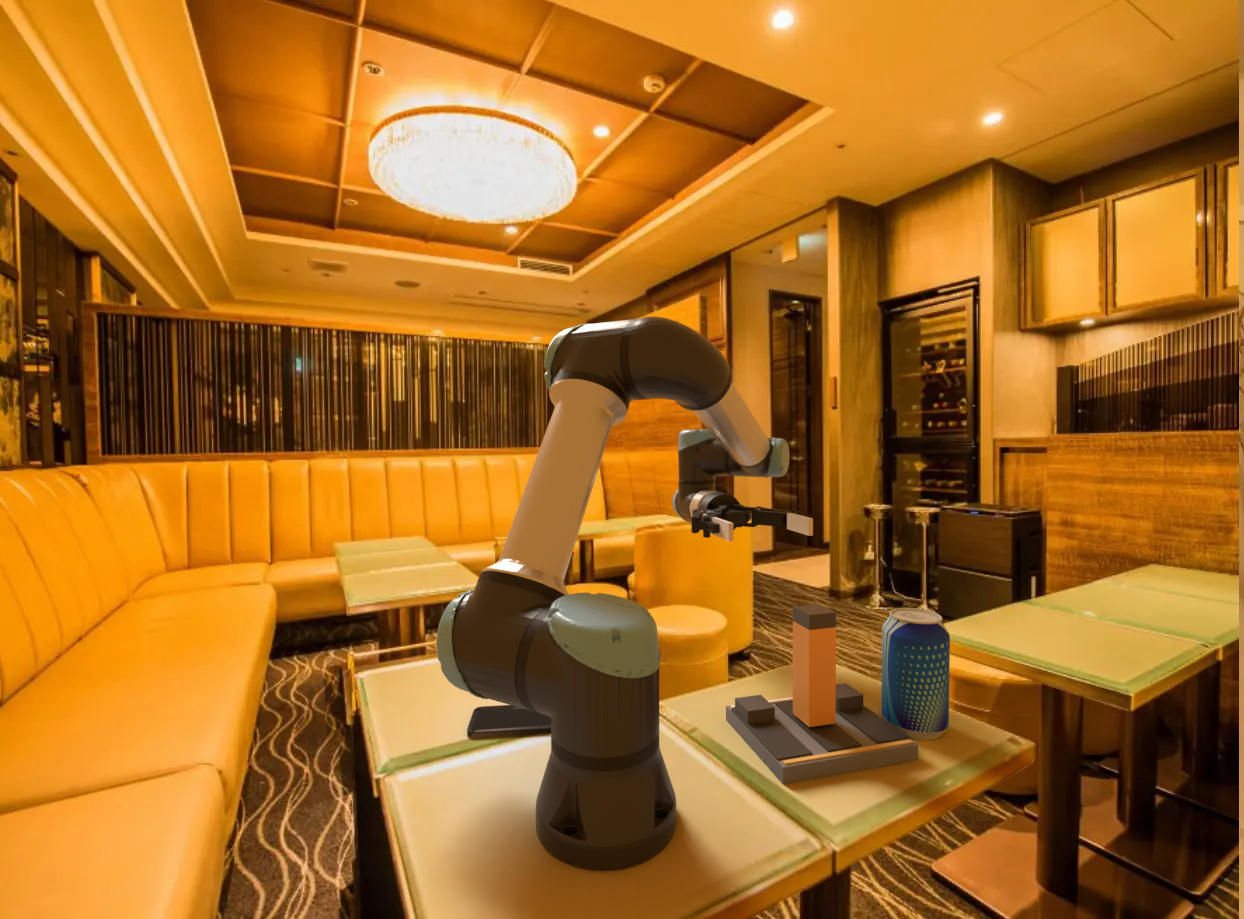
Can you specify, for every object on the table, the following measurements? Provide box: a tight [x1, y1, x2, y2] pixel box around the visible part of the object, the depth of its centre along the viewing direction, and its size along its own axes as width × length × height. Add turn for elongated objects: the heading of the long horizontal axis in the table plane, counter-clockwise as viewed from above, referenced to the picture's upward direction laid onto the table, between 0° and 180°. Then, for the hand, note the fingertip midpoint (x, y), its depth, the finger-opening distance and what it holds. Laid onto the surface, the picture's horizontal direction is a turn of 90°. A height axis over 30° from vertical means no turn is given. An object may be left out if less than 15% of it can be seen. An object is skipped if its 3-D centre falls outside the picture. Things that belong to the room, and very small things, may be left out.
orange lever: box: [792, 603, 837, 727], centre depth 78 cm, size 4×4×15 cm
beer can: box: [881, 607, 951, 741], centre depth 81 cm, size 8×8×16 cm
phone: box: [466, 704, 551, 739], centre depth 84 cm, size 8×1×15 cm
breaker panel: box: [725, 682, 919, 785], centre depth 78 cm, size 19×16×4 cm
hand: (771, 529), depth 89 cm, fingers open, 13 cm apart
